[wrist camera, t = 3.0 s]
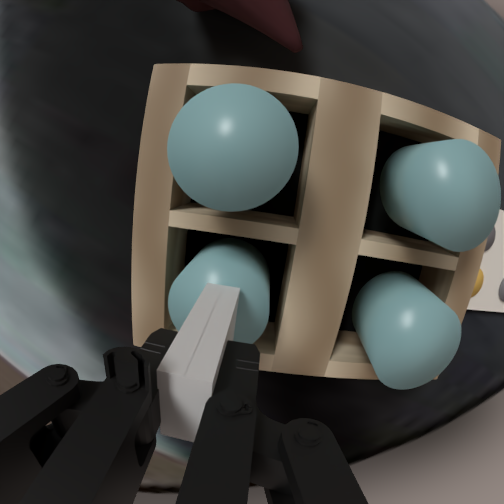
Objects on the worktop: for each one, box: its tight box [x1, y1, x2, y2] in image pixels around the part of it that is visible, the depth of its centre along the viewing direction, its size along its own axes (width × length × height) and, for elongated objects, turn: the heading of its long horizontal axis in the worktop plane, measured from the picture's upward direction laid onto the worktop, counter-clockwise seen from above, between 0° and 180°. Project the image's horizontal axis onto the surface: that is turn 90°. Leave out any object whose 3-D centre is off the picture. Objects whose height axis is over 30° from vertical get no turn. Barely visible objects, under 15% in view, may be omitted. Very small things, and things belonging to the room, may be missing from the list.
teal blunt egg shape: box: [167, 83, 299, 212], centre depth 13 cm, size 5×5×5 cm
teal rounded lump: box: [168, 238, 270, 344], centre depth 16 cm, size 5×5×5 cm
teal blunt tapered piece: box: [379, 139, 501, 252], centre depth 12 cm, size 5×5×5 cm
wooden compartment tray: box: [132, 64, 501, 379], centre depth 16 cm, size 20×16×4 cm
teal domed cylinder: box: [352, 271, 461, 390], centre depth 14 cm, size 5×5×5 cm
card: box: [467, 210, 504, 312], centre depth 18 cm, size 10×8×1 cm
